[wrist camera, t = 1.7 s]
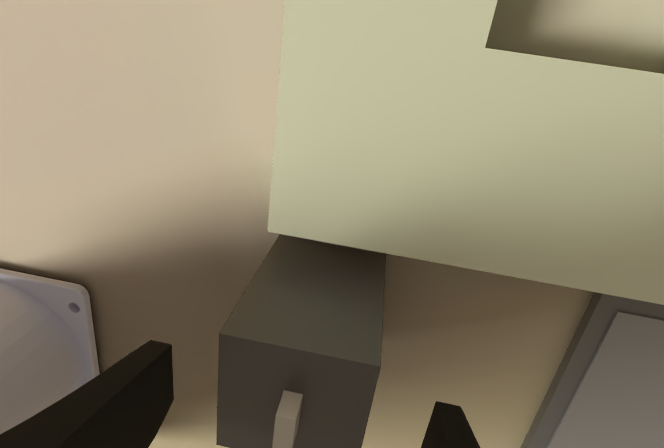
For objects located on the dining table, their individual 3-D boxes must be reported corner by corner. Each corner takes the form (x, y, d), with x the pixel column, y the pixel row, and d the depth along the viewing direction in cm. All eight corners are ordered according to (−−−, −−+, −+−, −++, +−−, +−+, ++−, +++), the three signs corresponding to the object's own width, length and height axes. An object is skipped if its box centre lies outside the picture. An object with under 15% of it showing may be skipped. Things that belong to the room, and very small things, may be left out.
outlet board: (682, 280, 14) (724, 316, 12) (282, 208, 15) (267, 231, 13) (1016, -307, 8) (1189, -404, 7) (334, -358, 9) (319, -454, 8)
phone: (636, 530, 20) (649, 555, 19) (489, 496, 20) (494, 519, 19) (799, 308, 15) (828, 328, 14) (594, 270, 15) (608, 286, 14)
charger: (367, 337, 17) (351, 505, 11) (273, 318, 17) (204, 471, 11) (386, 252, 15) (379, 391, 9) (281, 232, 16) (205, 355, 9)
